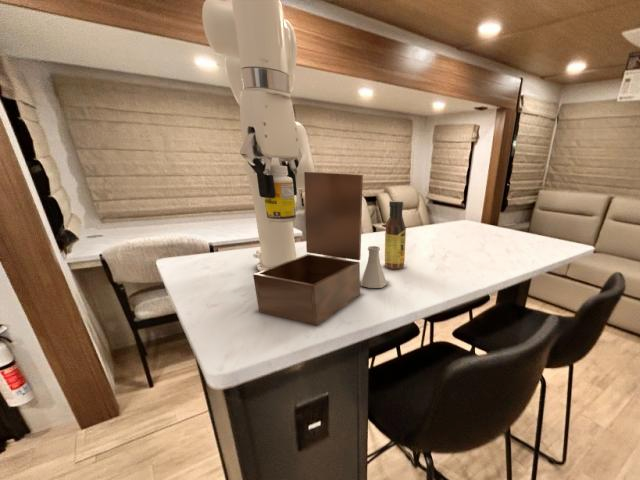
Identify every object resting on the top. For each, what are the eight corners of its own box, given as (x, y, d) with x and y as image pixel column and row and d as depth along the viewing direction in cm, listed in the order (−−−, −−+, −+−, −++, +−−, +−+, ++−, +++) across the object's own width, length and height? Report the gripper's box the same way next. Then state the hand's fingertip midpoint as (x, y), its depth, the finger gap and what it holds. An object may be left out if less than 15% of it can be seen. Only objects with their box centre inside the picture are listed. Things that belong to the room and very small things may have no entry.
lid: (361, 174, 66) (370, 176, 70) (304, 171, 70) (316, 173, 74) (358, 260, 71) (367, 257, 76) (306, 252, 76) (317, 249, 80)
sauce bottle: (404, 270, 94) (407, 202, 87) (383, 269, 94) (385, 201, 86) (404, 264, 100) (407, 200, 93) (385, 263, 100) (386, 199, 93)
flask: (383, 290, 79) (384, 252, 75) (356, 287, 80) (355, 249, 76) (389, 281, 85) (390, 245, 81) (364, 278, 86) (364, 243, 82)
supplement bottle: (261, 219, 62) (254, 164, 58) (286, 217, 66) (281, 165, 62) (277, 224, 59) (270, 166, 55) (302, 221, 63) (297, 166, 59)
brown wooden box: (317, 325, 60) (314, 286, 57) (258, 311, 65) (252, 274, 62) (360, 294, 75) (359, 262, 72) (310, 285, 80) (307, 254, 77)
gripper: (282, 96, 62) (291, 191, 69) (206, 74, 47) (228, 198, 54) (314, 96, 60) (320, 194, 67) (245, 72, 45) (262, 202, 52)
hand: (279, 195), depth 61 cm, fingers closed on supplement bottle, 5 cm apart
